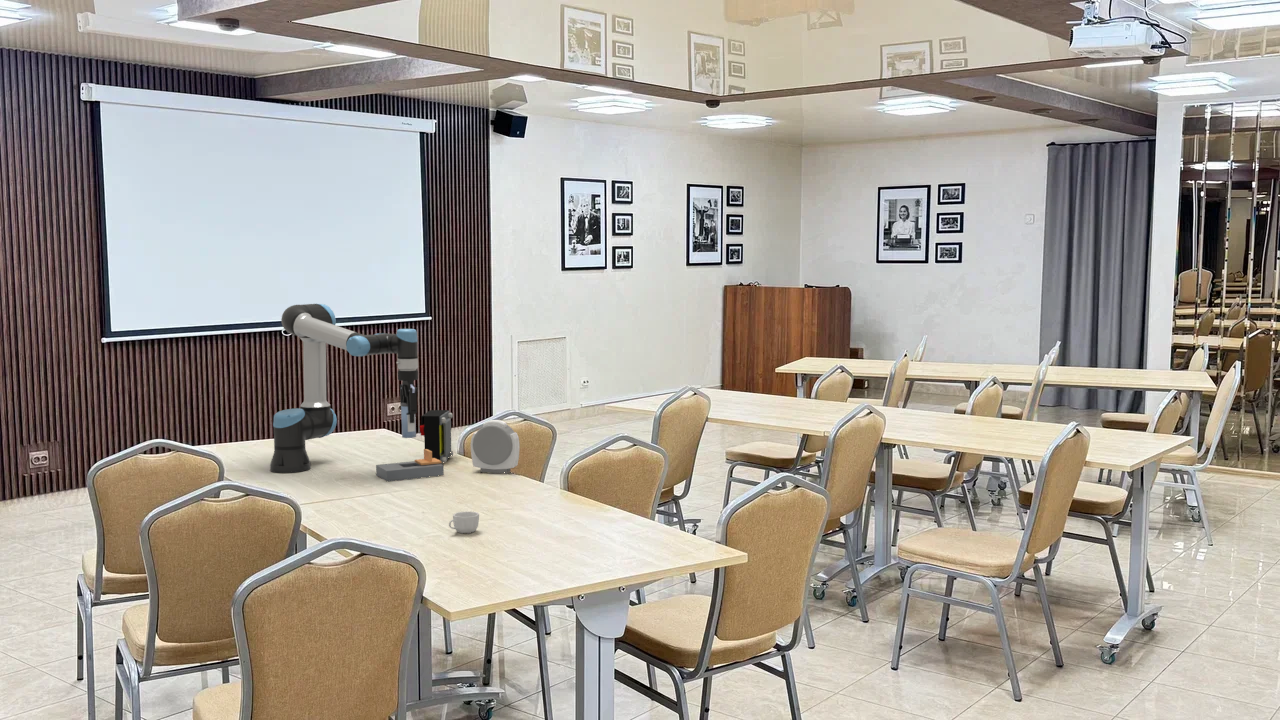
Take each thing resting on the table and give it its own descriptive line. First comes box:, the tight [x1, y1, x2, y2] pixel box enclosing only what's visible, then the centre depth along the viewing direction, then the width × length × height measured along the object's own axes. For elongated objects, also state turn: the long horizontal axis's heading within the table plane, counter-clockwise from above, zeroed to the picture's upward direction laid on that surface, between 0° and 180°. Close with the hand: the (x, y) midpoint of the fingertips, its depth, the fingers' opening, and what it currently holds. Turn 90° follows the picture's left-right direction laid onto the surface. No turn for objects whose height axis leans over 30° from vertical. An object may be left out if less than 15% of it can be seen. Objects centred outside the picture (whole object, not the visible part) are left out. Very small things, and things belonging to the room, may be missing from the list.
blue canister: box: [400, 402, 417, 439], centre depth 398 cm, size 5×5×13 cm
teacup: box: [448, 510, 480, 534], centre depth 314 cm, size 10×8×5 cm
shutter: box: [414, 448, 442, 465], centre depth 403 cm, size 8×8×5 cm
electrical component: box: [419, 409, 454, 465], centre depth 429 cm, size 18×10×20 cm, turn 179°
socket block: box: [375, 460, 445, 482], centre depth 400 cm, size 14×22×4 cm, turn 120°
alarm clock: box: [470, 419, 521, 475], centre depth 406 cm, size 18×8×20 cm, turn 80°
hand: (409, 430), depth 399 cm, fingers closed on blue canister, 5 cm apart
